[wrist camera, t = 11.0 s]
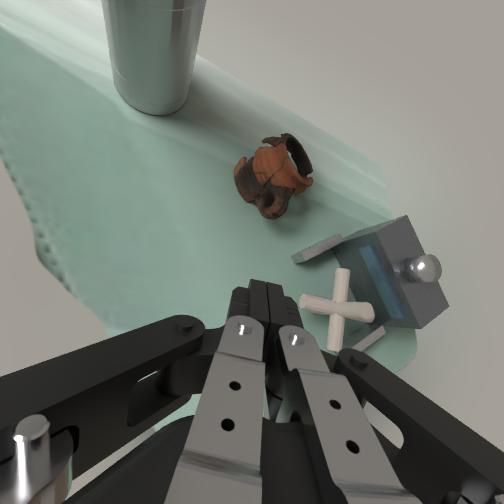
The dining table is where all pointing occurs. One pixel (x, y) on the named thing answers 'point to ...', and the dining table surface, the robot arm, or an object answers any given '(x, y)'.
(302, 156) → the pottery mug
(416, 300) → the grey boxy knob-topped device
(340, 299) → the pipe connector
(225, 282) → the dining table surface
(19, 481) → the robot arm
